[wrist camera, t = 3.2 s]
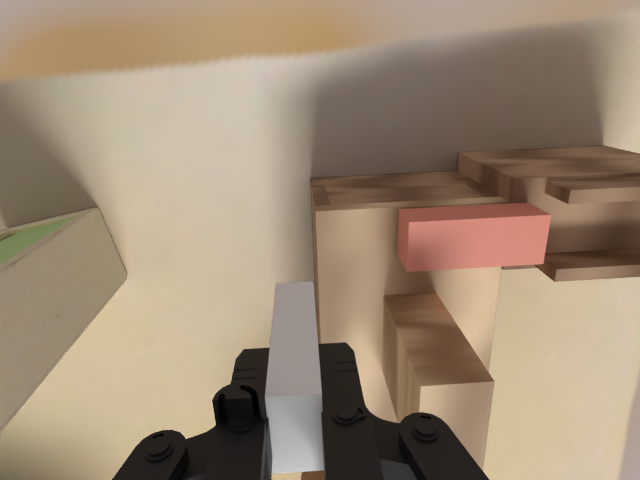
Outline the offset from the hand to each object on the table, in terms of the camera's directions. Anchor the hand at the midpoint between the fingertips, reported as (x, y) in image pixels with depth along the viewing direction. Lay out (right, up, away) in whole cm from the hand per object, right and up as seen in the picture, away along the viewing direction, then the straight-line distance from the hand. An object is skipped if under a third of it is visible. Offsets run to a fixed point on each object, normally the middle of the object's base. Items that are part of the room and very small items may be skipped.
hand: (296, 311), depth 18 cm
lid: (+7, -3, +13) cm, 15 cm away
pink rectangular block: (+10, +4, +9) cm, 14 cm away
